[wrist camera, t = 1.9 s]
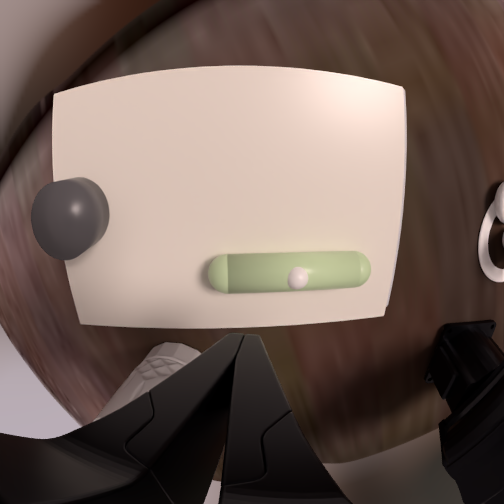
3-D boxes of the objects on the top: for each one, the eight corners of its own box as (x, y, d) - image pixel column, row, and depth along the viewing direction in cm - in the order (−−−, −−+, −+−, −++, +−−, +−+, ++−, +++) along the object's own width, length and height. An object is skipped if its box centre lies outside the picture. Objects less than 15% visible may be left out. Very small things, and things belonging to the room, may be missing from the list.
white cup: (215, 337, 23) (174, 433, 13) (229, 401, 25) (204, 487, 16) (134, 332, 24) (74, 406, 14) (157, 393, 26) (117, 465, 17)
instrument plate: (393, 90, 12) (425, 80, 9) (376, 307, 16) (399, 334, 14) (59, 97, 11) (27, 90, 8) (83, 315, 15) (62, 342, 12)
